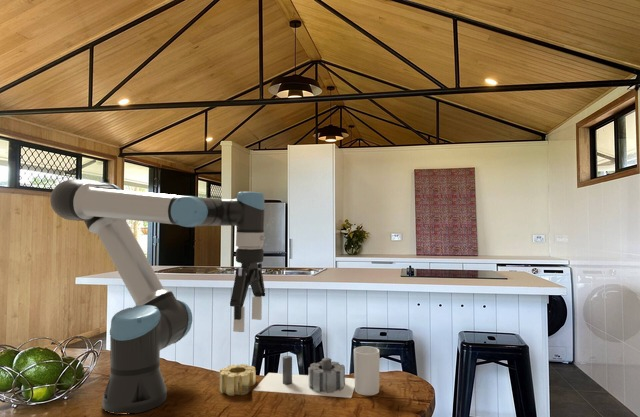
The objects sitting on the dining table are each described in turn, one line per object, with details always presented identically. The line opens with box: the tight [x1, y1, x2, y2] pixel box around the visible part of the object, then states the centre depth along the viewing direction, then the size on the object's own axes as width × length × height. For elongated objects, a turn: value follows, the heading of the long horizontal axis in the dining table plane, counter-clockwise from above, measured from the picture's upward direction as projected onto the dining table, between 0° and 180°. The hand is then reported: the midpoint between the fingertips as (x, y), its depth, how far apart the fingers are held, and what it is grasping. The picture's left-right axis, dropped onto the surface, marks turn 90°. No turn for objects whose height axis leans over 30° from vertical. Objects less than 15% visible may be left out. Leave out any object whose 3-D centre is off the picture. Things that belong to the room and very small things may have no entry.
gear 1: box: [219, 363, 257, 397], centre depth 119 cm, size 10×10×5 cm
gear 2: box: [307, 360, 346, 393], centre depth 116 cm, size 10×10×5 cm
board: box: [253, 355, 355, 399], centre depth 117 cm, size 26×13×8 cm, turn 79°
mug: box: [353, 345, 381, 396], centre depth 115 cm, size 10×7×12 cm, turn 166°
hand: (248, 325), depth 118 cm, fingers open, 13 cm apart
